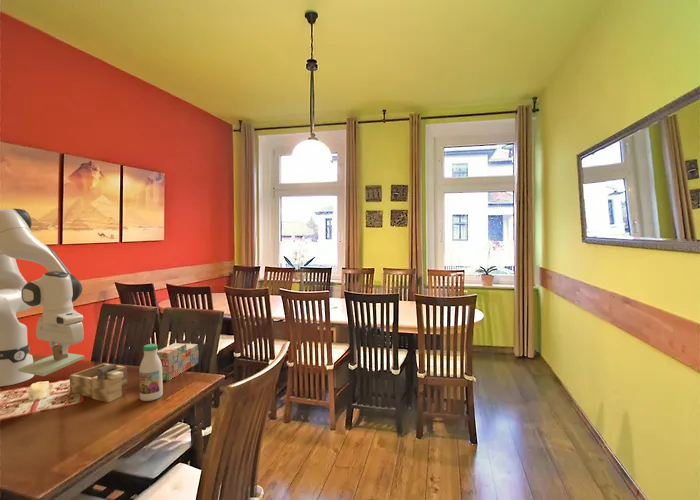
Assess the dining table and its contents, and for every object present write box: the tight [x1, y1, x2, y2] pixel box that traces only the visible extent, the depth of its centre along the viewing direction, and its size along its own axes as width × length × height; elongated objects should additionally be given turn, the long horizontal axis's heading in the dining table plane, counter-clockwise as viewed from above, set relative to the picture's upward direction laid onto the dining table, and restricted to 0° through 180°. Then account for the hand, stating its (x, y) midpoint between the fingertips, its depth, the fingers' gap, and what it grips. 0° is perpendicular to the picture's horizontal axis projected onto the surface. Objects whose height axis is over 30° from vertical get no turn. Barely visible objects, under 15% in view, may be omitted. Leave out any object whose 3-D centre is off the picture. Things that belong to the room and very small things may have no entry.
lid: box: [18, 343, 86, 377], centre depth 132 cm, size 13×14×6 cm
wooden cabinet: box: [69, 362, 128, 403], centre depth 145 cm, size 22×15×12 cm
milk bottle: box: [138, 343, 164, 402], centre depth 139 cm, size 8×8×20 cm
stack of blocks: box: [157, 342, 200, 382], centre depth 165 cm, size 21×6×12 cm, turn 169°
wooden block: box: [105, 370, 123, 380], centre depth 138 cm, size 9×3×2 cm, turn 71°
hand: (60, 353), depth 134 cm, fingers closed on lid, 3 cm apart
